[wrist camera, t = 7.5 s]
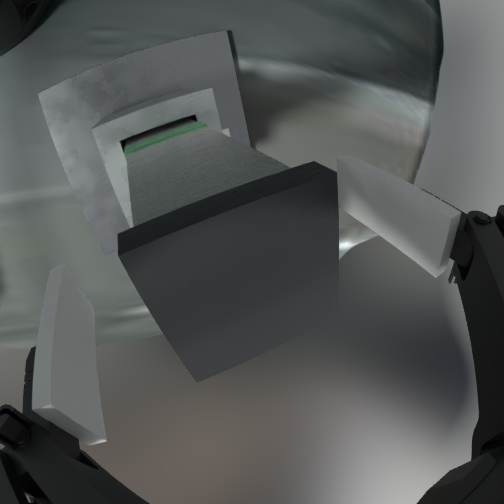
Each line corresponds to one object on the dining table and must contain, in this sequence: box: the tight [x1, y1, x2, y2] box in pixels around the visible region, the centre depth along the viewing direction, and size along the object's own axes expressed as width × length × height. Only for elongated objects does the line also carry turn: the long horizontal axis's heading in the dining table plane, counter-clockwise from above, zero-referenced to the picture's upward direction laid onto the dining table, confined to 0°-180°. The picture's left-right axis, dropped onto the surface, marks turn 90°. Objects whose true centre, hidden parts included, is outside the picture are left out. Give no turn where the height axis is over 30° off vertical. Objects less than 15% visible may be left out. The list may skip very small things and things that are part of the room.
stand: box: [38, 31, 251, 255], centre depth 27 cm, size 22×22×11 cm
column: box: [117, 117, 339, 382], centre depth 18 cm, size 6×6×21 cm
